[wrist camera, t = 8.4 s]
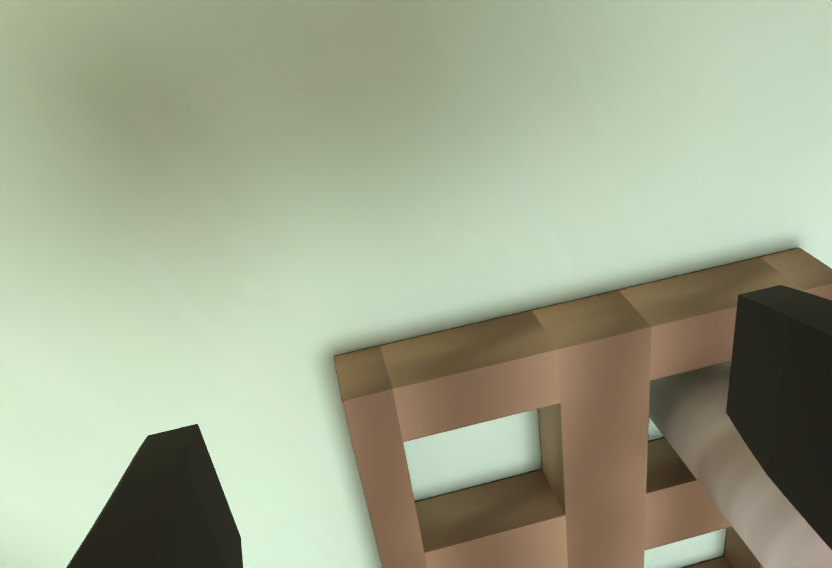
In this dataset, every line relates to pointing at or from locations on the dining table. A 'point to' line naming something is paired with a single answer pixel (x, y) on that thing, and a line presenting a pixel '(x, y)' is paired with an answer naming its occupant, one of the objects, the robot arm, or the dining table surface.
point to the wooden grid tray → (583, 431)
